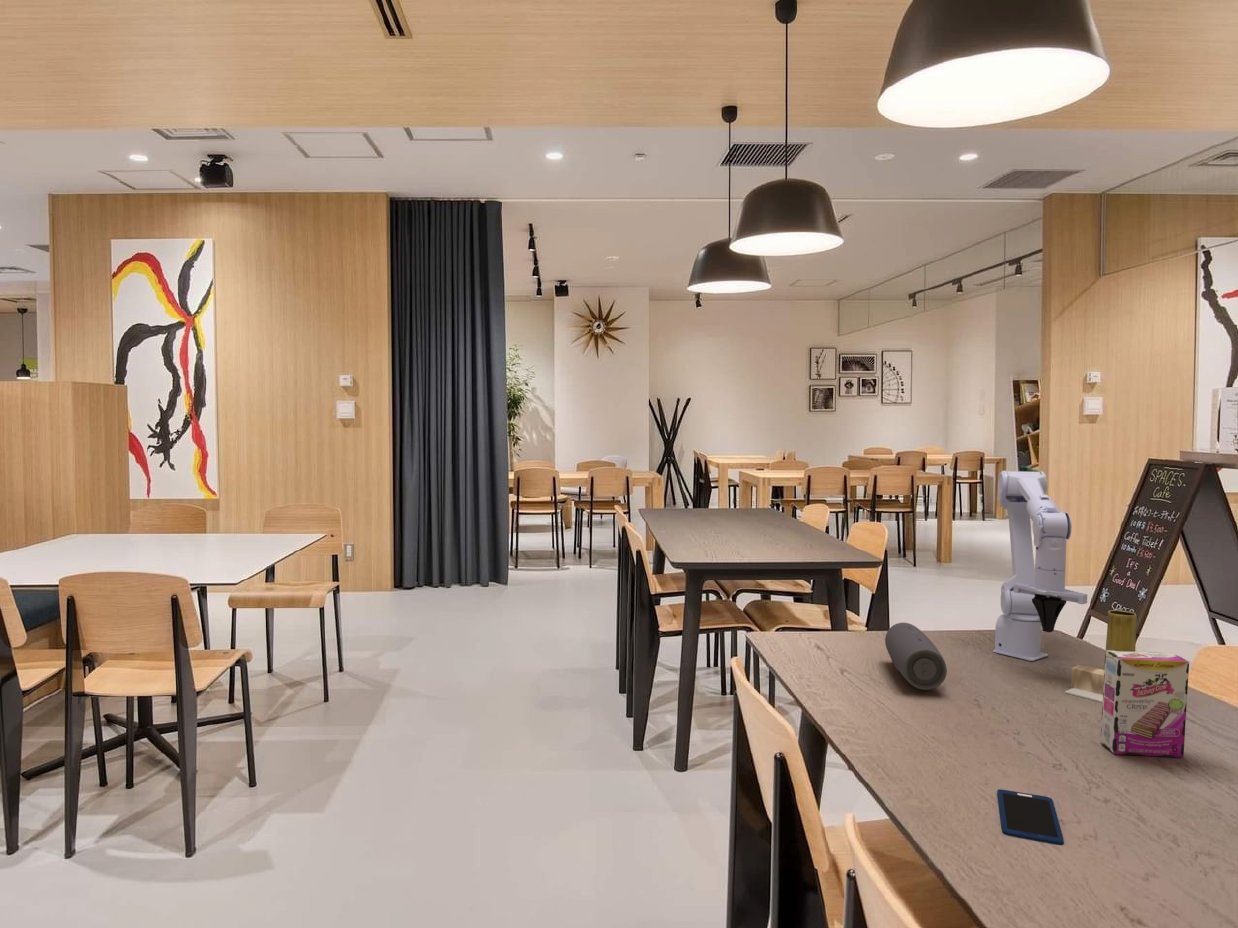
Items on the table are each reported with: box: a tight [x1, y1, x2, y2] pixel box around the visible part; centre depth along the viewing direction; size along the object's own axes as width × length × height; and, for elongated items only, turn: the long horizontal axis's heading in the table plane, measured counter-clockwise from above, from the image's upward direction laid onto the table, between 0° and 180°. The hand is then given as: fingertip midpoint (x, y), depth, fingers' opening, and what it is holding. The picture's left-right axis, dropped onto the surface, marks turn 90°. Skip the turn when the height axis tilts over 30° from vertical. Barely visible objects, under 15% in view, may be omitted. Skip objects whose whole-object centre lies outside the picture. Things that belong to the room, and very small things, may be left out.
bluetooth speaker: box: [884, 622, 948, 691], centre depth 171 cm, size 23×9×10 cm, turn 171°
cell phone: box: [996, 789, 1064, 846], centre depth 111 cm, size 7×14×1 cm, turn 157°
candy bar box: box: [1100, 650, 1190, 758], centre depth 133 cm, size 11×5×16 cm, turn 84°
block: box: [1070, 664, 1104, 695], centre depth 163 cm, size 4×4×8 cm
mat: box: [1064, 687, 1103, 704], centre depth 163 cm, size 9×12×1 cm
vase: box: [1103, 609, 1137, 669], centre depth 172 cm, size 6×6×14 cm
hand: (1048, 631), depth 171 cm, fingers closed
